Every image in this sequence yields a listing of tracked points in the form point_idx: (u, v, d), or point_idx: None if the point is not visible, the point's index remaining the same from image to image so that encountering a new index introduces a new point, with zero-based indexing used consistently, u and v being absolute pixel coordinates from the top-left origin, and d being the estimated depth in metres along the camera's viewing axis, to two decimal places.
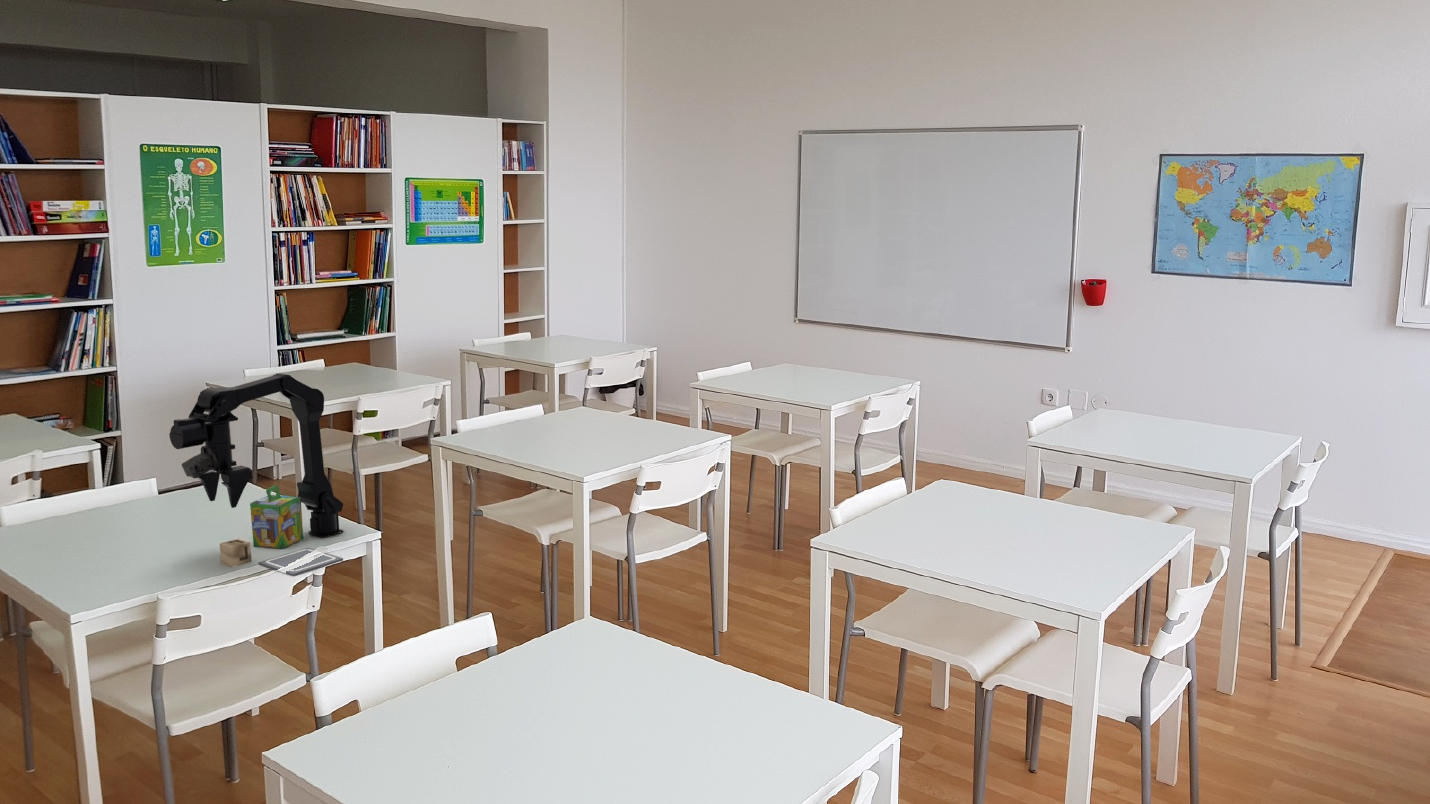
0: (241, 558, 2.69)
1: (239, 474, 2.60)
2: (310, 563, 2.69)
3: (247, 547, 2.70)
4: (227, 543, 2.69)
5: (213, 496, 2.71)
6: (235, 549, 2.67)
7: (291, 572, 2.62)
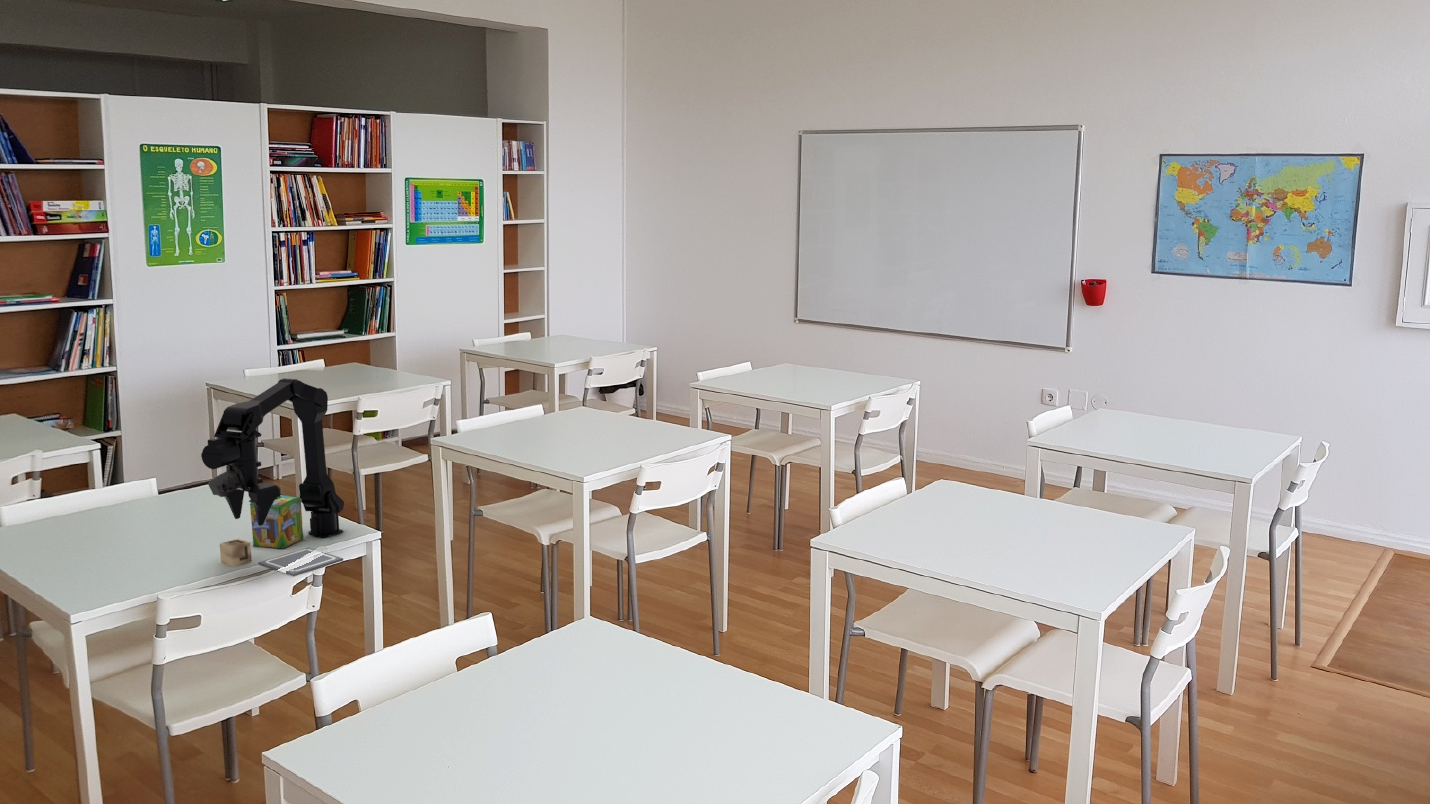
0: (241, 558, 2.69)
1: (267, 492, 2.58)
2: (310, 563, 2.69)
3: (247, 547, 2.70)
4: (227, 543, 2.69)
5: (238, 514, 2.68)
6: (235, 549, 2.67)
7: (291, 572, 2.62)
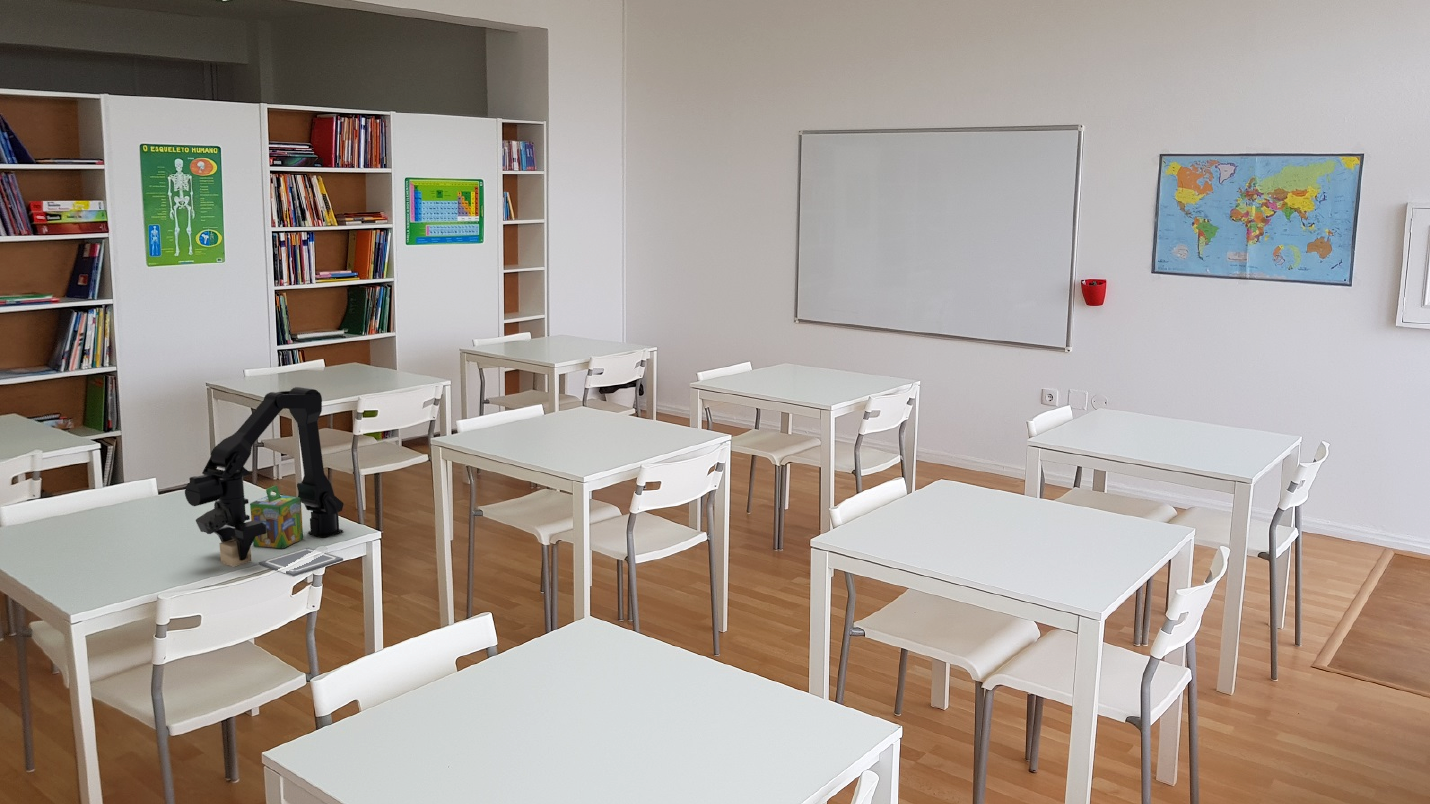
0: None
1: (252, 530, 2.63)
2: (310, 563, 2.69)
3: None
4: (227, 543, 2.69)
5: None
6: (235, 549, 2.67)
7: (291, 572, 2.62)
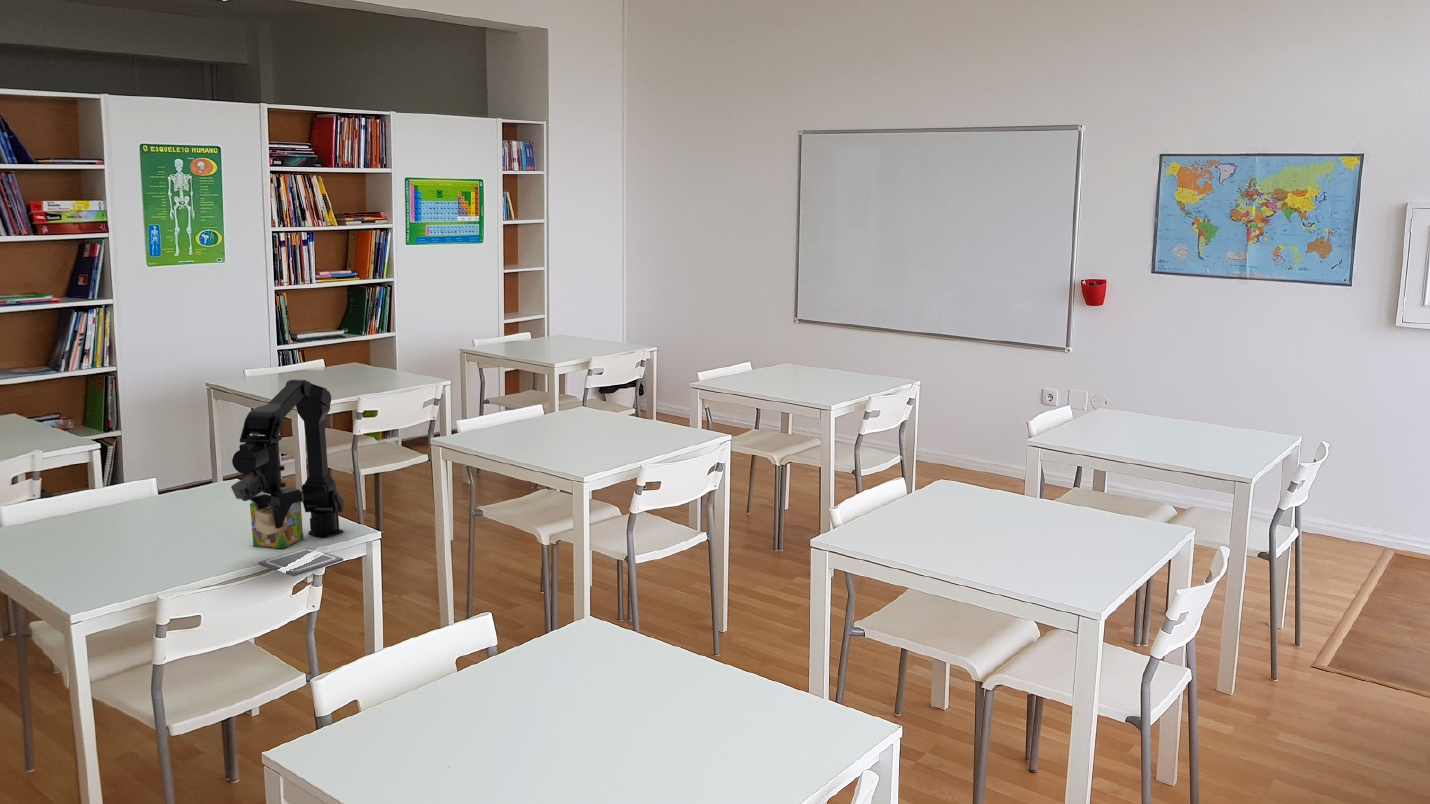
0: None
1: (289, 497, 2.57)
2: (310, 563, 2.69)
3: None
4: (262, 510, 2.63)
5: None
6: (271, 516, 2.62)
7: (291, 572, 2.62)
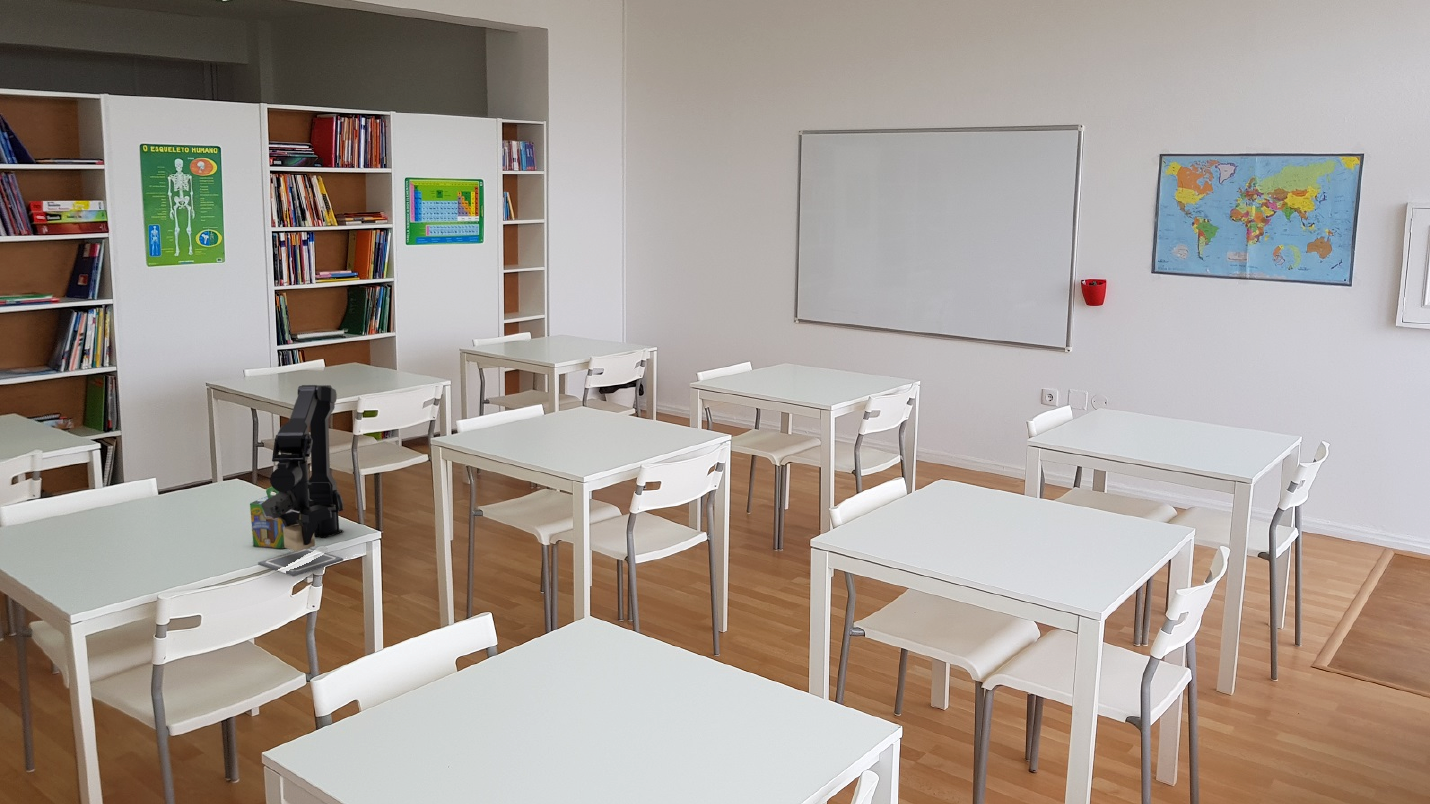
0: None
1: (318, 514, 2.62)
2: (310, 563, 2.69)
3: None
4: (290, 527, 2.69)
5: None
6: (299, 533, 2.67)
7: (291, 572, 2.62)
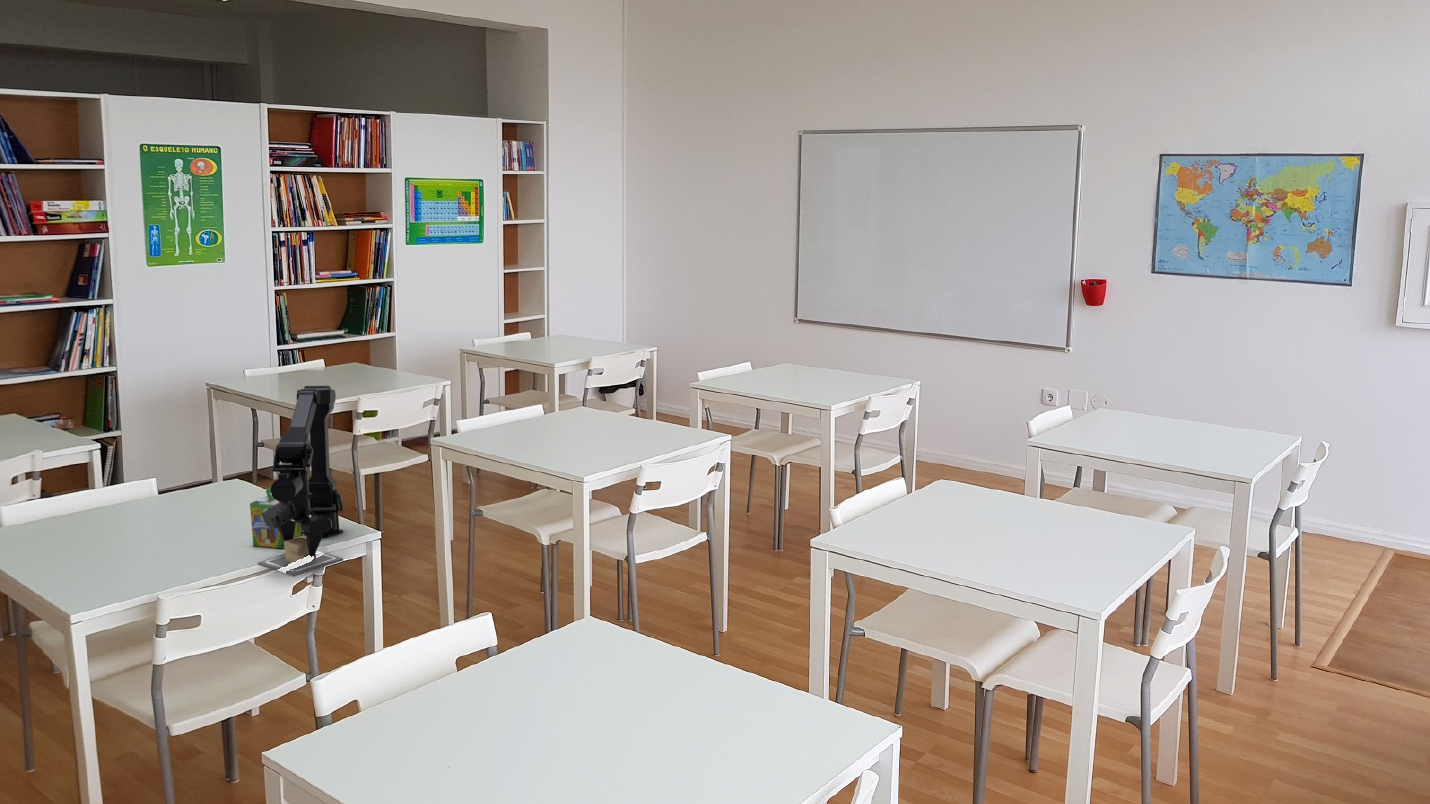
0: (306, 555, 2.69)
1: (319, 524, 2.63)
2: (310, 563, 2.69)
3: None
4: (291, 541, 2.69)
5: None
6: (300, 547, 2.67)
7: (291, 572, 2.62)
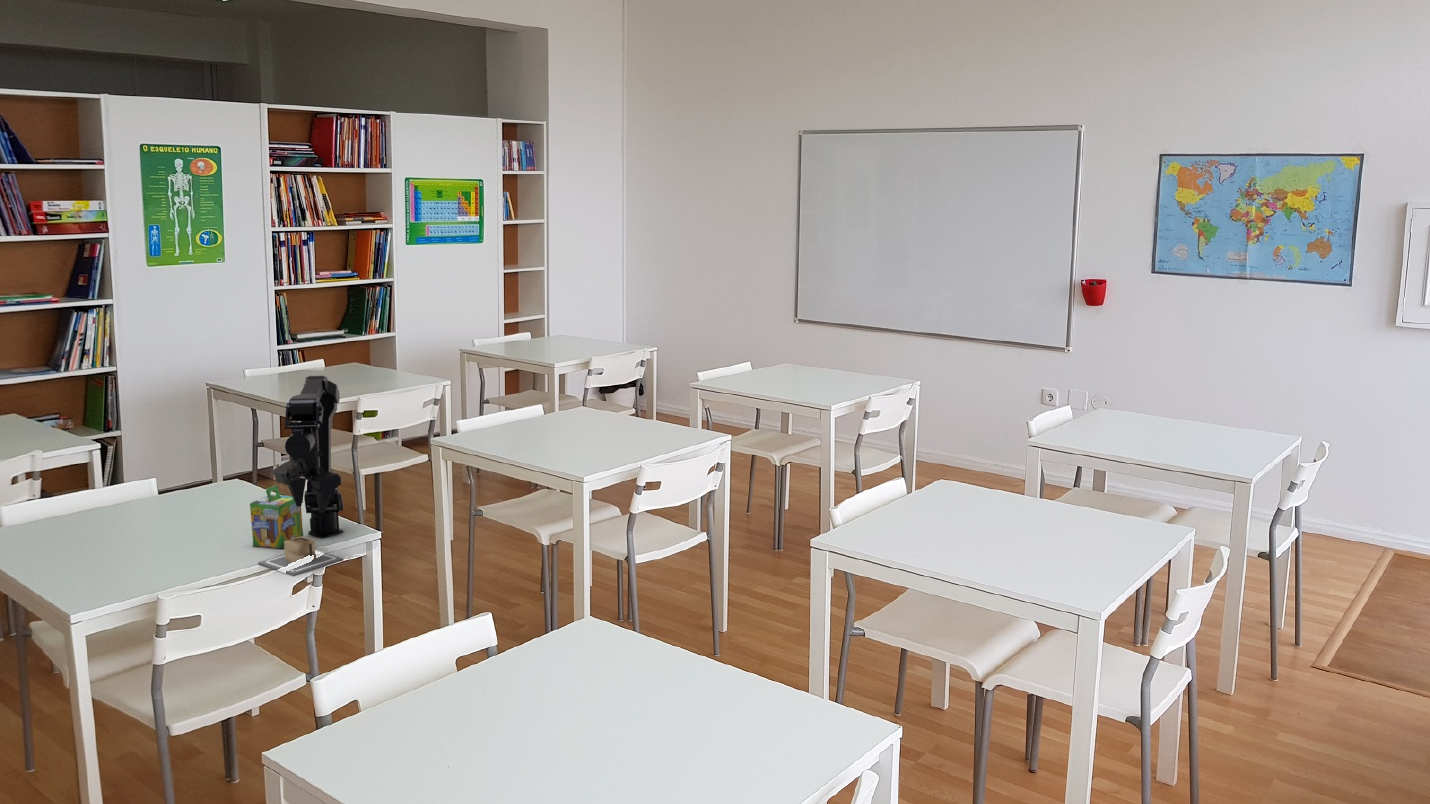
0: (306, 555, 2.69)
1: (329, 481, 2.66)
2: (310, 563, 2.69)
3: (311, 545, 2.70)
4: (291, 541, 2.69)
5: (300, 502, 2.76)
6: (300, 547, 2.67)
7: (291, 572, 2.62)
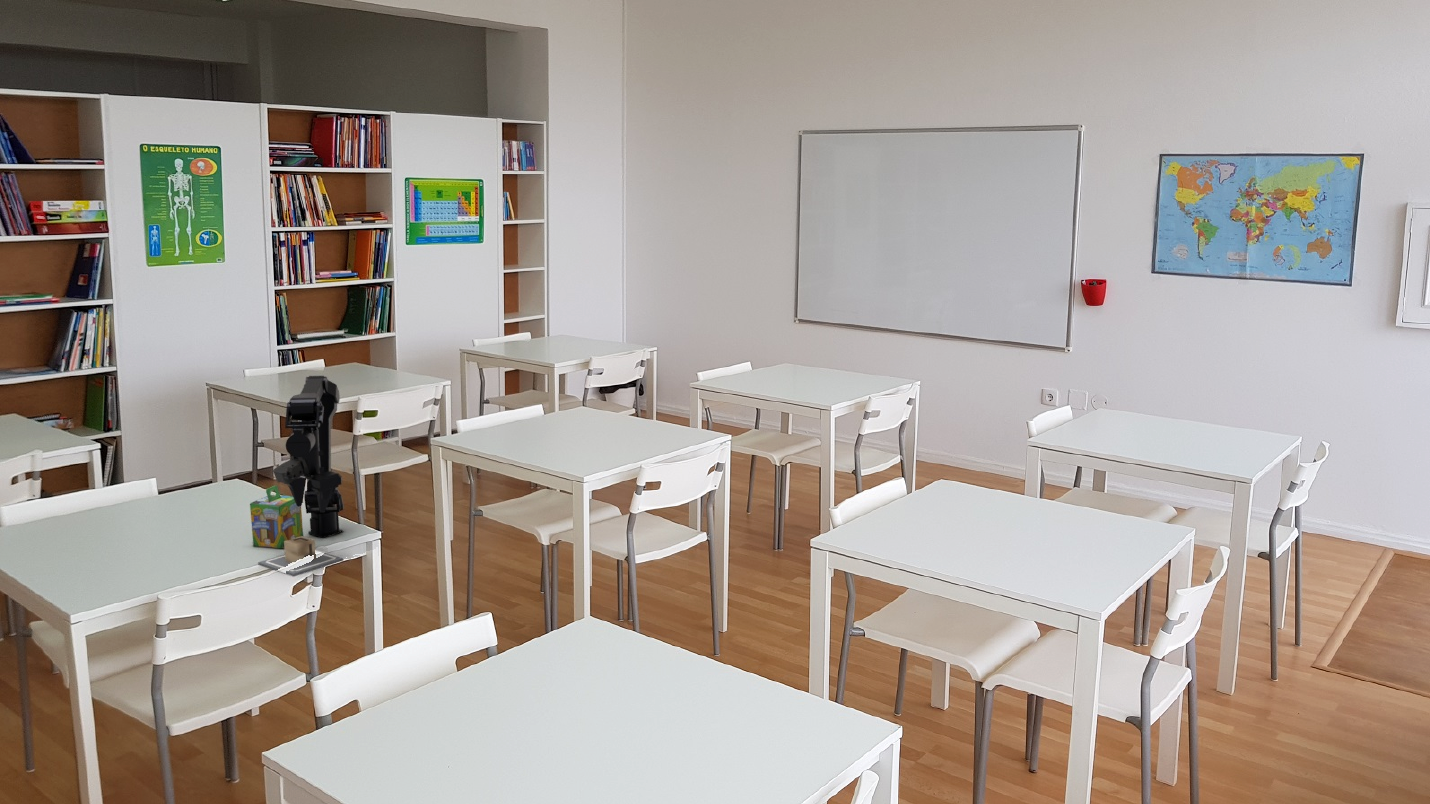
0: (306, 555, 2.69)
1: (329, 480, 2.66)
2: (310, 563, 2.69)
3: (311, 545, 2.70)
4: (291, 541, 2.69)
5: (300, 501, 2.76)
6: (300, 547, 2.67)
7: (291, 572, 2.62)
